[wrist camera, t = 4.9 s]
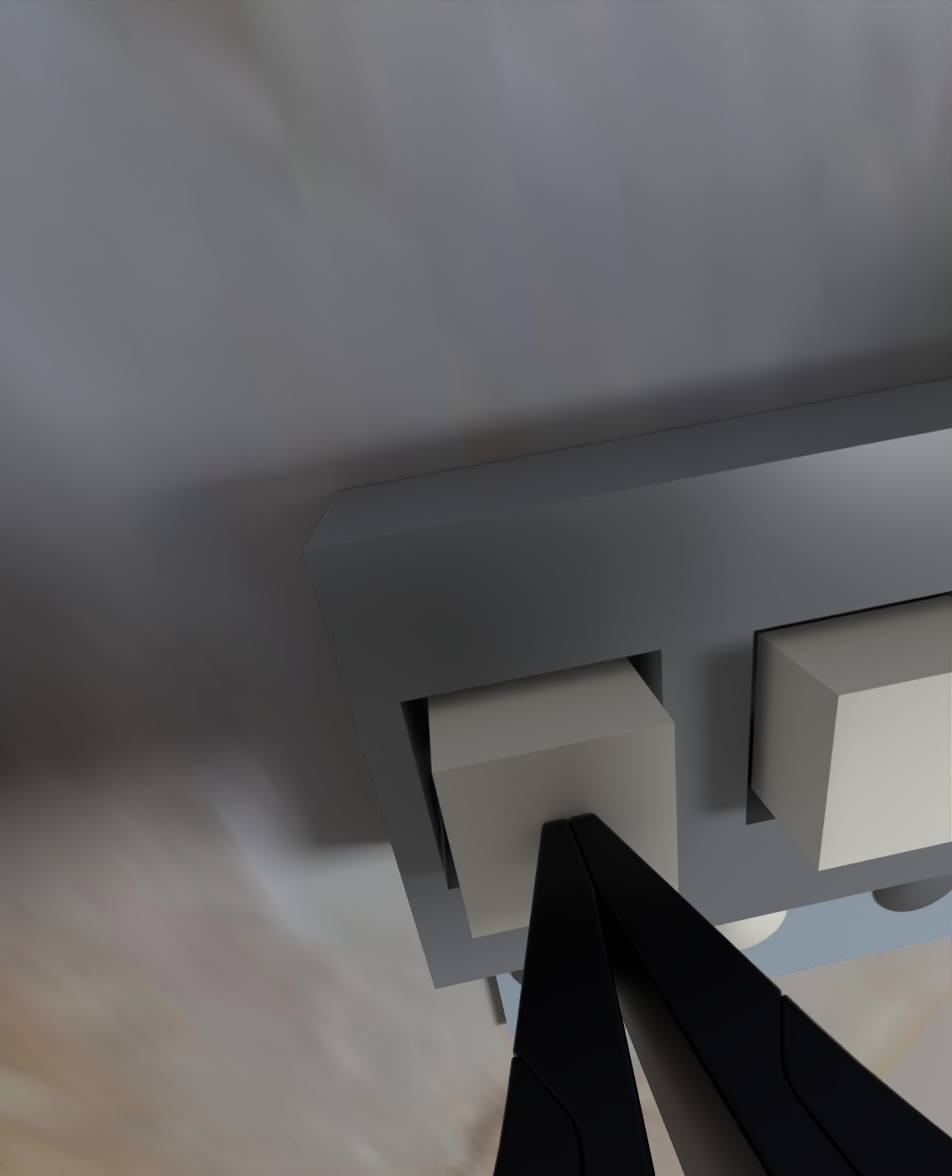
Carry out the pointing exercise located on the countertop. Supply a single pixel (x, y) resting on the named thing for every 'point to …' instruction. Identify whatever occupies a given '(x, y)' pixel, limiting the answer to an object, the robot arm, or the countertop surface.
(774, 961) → the pattern card
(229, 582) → the countertop surface
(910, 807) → the button middle
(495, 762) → the button
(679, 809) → the button board
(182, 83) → the countertop surface
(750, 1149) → the robot arm
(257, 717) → the countertop surface
